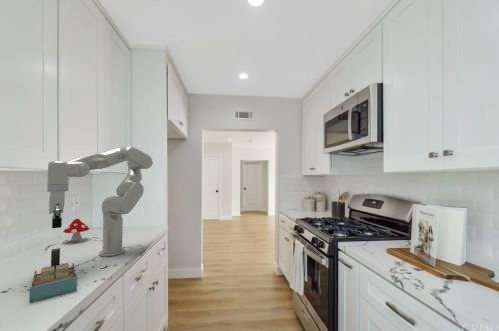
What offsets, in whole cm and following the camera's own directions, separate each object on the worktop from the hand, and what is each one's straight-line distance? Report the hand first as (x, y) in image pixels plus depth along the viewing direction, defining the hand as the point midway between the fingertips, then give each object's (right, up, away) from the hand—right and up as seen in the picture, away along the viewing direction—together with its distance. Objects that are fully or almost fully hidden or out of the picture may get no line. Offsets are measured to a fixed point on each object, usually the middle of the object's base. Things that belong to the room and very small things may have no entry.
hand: (56, 226), depth 105 cm
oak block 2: (+10, -18, -9) cm, 23 cm away
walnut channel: (+7, -20, -10) cm, 23 cm away
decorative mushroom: (-27, -23, +48) cm, 59 cm away
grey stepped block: (0, -21, -1) cm, 21 cm away
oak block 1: (+7, -18, -12) cm, 23 cm away
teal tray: (+15, -20, -19) cm, 31 cm away
